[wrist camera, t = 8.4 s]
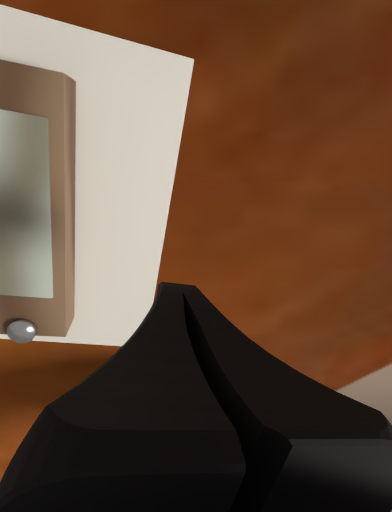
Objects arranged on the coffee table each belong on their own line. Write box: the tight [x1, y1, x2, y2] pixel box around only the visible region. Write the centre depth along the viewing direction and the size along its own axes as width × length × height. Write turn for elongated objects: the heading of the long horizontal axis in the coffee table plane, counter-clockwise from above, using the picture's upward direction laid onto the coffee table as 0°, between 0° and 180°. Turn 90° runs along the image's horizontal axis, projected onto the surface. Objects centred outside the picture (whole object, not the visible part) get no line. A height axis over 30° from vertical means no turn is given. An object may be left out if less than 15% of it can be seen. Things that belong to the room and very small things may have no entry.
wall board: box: [0, 5, 194, 346], centre depth 18 cm, size 16×20×1 cm
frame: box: [0, 59, 76, 343], centre depth 16 cm, size 5×15×3 cm, turn 170°
